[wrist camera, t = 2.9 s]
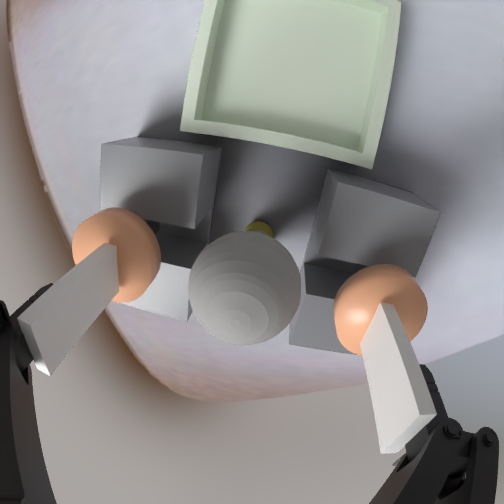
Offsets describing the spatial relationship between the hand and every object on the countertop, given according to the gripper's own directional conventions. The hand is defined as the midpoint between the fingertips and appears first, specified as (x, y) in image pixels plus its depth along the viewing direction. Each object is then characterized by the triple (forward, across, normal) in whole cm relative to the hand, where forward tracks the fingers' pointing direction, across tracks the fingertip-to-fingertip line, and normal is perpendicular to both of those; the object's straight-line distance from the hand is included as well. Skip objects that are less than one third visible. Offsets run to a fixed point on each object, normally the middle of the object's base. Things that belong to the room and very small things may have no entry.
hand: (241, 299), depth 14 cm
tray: (+8, 0, +12) cm, 15 cm away
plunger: (+6, -7, 0) cm, 9 cm away
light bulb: (+8, 0, 0) cm, 8 cm away
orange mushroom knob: (+6, +7, 0) cm, 9 cm away
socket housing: (+8, 0, 0) cm, 8 cm away
